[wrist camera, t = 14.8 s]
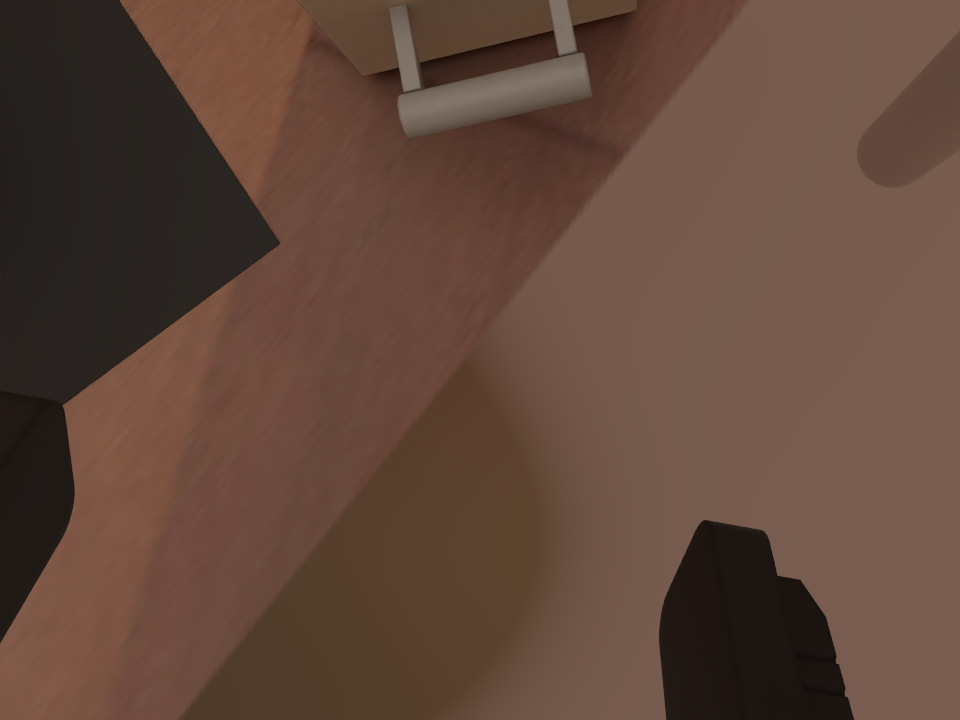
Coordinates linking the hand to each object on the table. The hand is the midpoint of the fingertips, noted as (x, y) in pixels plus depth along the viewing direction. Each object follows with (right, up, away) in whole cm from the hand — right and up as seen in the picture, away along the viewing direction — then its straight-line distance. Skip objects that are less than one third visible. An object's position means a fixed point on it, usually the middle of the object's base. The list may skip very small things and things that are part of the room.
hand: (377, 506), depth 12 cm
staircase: (-28, +13, +28) cm, 42 cm away
